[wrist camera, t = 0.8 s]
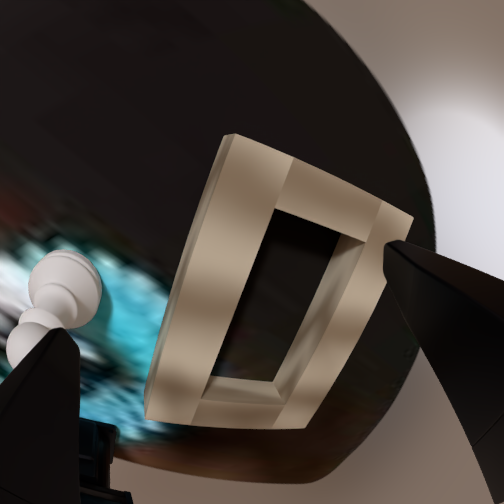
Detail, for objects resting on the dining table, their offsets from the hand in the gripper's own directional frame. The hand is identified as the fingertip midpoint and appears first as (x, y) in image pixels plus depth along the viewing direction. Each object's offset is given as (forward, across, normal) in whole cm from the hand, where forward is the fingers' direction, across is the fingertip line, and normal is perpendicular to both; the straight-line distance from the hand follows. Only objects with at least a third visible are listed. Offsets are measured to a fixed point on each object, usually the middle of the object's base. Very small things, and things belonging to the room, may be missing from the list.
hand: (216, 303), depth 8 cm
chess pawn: (+10, +11, +4) cm, 16 cm away
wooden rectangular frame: (+11, -1, +11) cm, 15 cm away
